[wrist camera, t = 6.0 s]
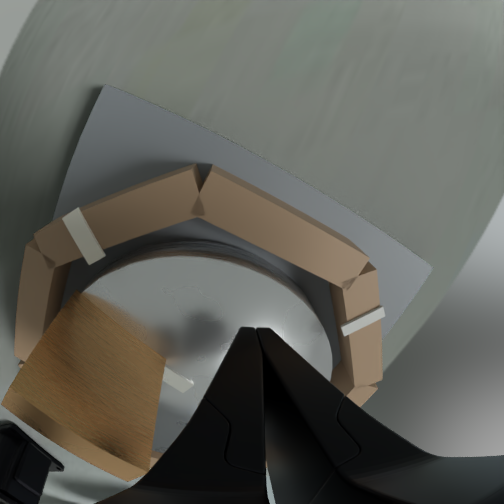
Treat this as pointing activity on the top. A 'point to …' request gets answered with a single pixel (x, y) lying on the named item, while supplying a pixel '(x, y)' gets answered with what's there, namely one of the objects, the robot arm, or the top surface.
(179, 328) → the dial
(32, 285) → the dial plate
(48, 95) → the top surface
